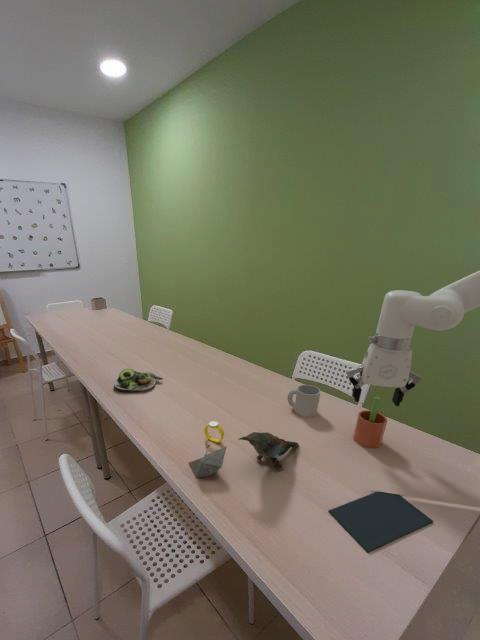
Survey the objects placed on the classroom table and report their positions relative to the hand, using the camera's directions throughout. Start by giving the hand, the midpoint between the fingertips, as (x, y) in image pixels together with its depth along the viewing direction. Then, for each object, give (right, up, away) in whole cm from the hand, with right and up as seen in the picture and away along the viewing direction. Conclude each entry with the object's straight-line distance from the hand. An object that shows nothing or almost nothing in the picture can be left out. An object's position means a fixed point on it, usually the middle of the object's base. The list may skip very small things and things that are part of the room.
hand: (375, 401), depth 81 cm
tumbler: (+1, -12, +5) cm, 13 cm away
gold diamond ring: (-43, -13, +8) cm, 46 cm away
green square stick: (0, -12, +5) cm, 13 cm away
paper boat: (-45, -17, -3) cm, 49 cm away
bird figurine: (-29, -16, -1) cm, 33 cm away
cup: (-13, -6, +21) cm, 25 cm away
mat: (-10, -23, -18) cm, 30 cm away
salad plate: (-74, +3, +44) cm, 86 cm away
